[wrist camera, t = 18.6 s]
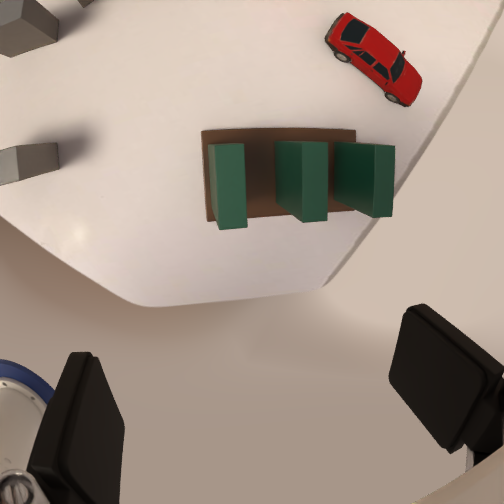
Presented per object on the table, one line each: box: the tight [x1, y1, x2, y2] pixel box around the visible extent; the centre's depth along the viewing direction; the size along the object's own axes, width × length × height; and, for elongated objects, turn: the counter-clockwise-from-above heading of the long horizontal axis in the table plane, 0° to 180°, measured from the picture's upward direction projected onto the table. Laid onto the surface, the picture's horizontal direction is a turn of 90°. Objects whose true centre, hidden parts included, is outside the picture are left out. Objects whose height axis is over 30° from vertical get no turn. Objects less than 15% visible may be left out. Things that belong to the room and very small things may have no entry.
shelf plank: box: [201, 128, 356, 222], centre depth 36 cm, size 10×18×2 cm, turn 92°
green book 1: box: [208, 143, 248, 230], centre depth 30 cm, size 2×7×9 cm, turn 2°
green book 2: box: [274, 141, 328, 223], centre depth 31 cm, size 2×7×9 cm, turn 2°
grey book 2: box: [0, 143, 59, 186], centre depth 25 cm, size 3×7×10 cm, turn 92°
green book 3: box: [334, 142, 395, 218], centre depth 32 cm, size 2×7×9 cm, turn 2°
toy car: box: [325, 12, 422, 107], centre depth 31 cm, size 6×14×5 cm, turn 60°
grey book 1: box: [0, 0, 59, 58], centre depth 20 cm, size 3×7×10 cm, turn 92°
